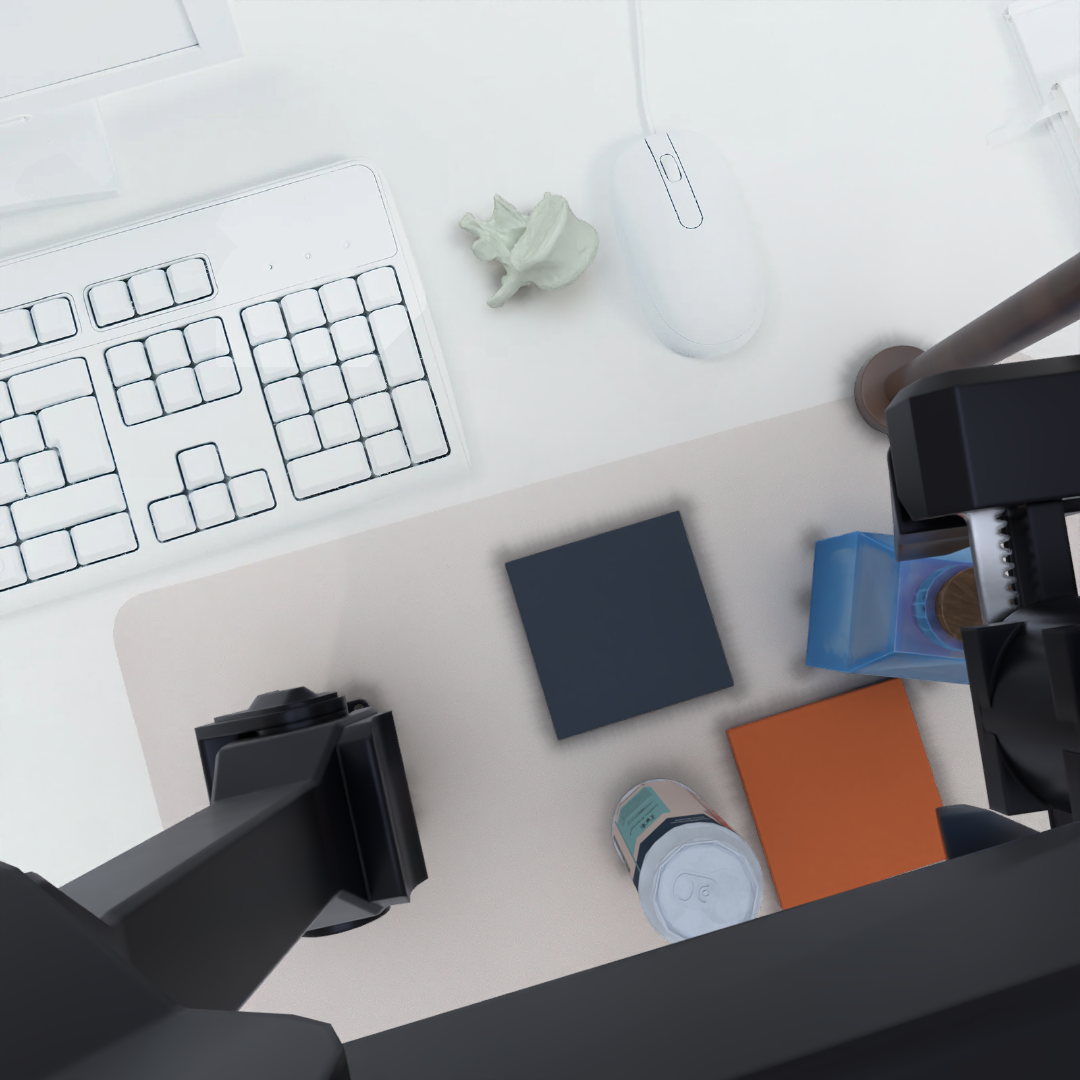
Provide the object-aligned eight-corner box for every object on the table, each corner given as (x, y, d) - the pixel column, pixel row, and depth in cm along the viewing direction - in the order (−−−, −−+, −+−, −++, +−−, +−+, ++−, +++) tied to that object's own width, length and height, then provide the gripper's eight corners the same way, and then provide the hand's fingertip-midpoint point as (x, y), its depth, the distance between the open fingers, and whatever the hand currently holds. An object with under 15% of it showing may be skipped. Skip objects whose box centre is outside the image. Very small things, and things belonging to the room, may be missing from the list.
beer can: (698, 886, 50) (757, 971, 38) (602, 866, 50) (630, 945, 38) (716, 787, 50) (780, 841, 38) (621, 768, 50) (655, 816, 38)
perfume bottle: (937, 553, 51) (1067, 535, 39) (929, 678, 51) (1057, 696, 39) (815, 541, 51) (907, 518, 39) (805, 665, 51) (895, 680, 39)
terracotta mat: (781, 909, 50) (784, 912, 49) (725, 730, 50) (727, 731, 50) (955, 852, 50) (959, 855, 50) (897, 675, 51) (901, 676, 50)
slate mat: (557, 739, 50) (558, 740, 50) (504, 563, 51) (504, 562, 50) (732, 684, 50) (734, 685, 50) (677, 511, 51) (679, 510, 51)
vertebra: (423, 273, 50) (472, 314, 53) (522, 287, 46) (570, 332, 48) (481, 159, 51) (526, 206, 54) (584, 162, 46) (627, 212, 49)
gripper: (1703, 1129, 21) (1190, 912, 36) (1520, 246, 22) (1100, 400, 38) (1181, 1217, 20) (886, 958, 36) (1025, 306, 22) (806, 437, 37)
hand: (929, 681), depth 37 cm, fingers open, 9 cm apart
